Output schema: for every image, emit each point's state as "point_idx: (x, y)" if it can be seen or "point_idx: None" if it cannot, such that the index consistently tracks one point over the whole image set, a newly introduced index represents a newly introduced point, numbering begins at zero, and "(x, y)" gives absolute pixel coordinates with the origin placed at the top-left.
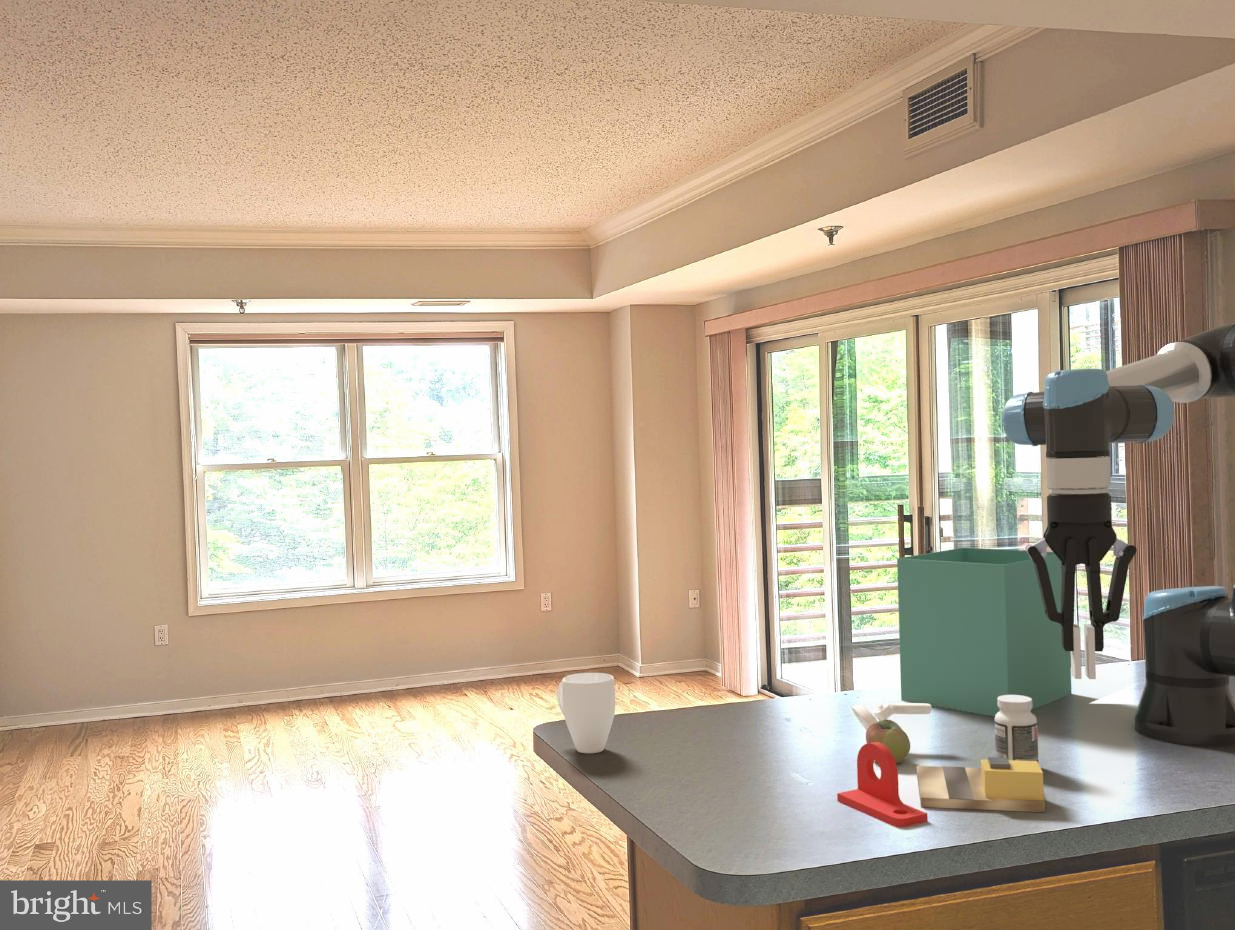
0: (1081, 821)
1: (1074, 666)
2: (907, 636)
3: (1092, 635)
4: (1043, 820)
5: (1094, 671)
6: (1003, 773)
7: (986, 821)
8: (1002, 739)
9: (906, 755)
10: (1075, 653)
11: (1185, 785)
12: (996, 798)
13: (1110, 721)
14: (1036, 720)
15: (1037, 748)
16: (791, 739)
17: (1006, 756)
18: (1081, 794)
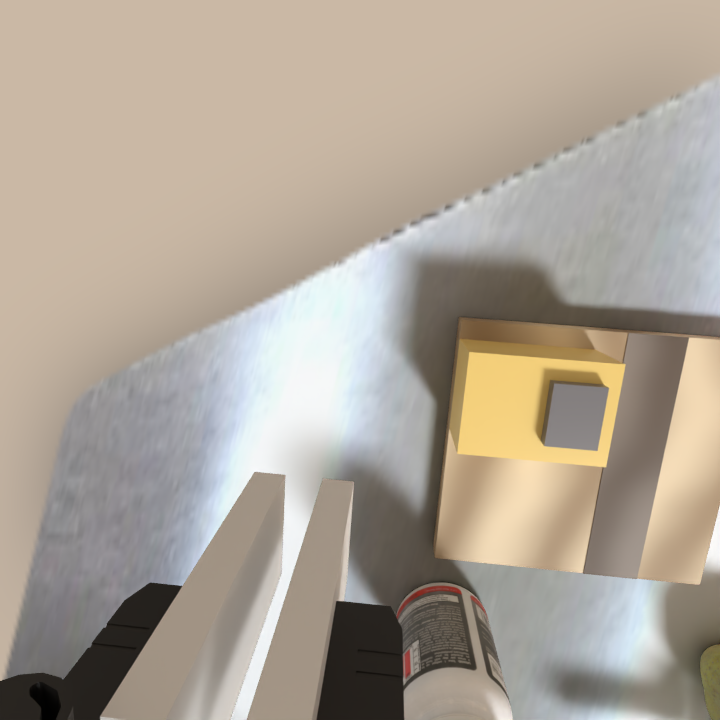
0: (394, 262)
1: (347, 525)
2: None
3: (160, 651)
4: (476, 262)
5: (248, 490)
6: (572, 359)
7: (611, 246)
8: (492, 651)
9: (706, 655)
10: (333, 563)
11: (120, 507)
12: (569, 346)
13: None
14: None
15: None
16: None
17: (477, 614)
18: (347, 443)
